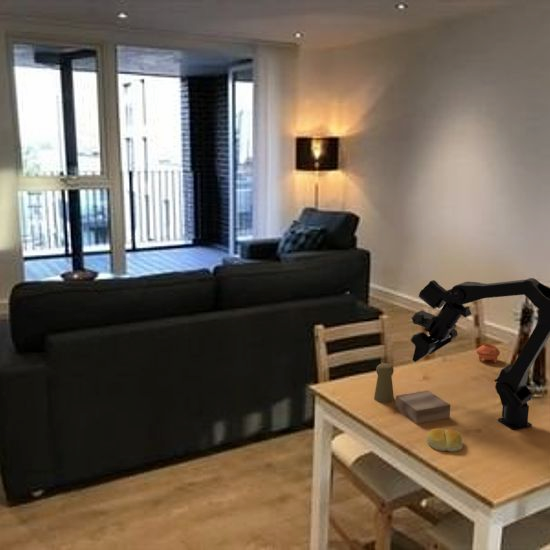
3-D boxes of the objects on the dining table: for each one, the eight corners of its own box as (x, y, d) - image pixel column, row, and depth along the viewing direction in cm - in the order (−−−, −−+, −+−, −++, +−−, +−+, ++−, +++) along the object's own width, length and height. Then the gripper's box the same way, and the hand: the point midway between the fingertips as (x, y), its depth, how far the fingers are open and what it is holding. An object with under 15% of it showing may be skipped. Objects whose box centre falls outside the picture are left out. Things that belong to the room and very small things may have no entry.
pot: (486, 365, 209) (483, 346, 209) (473, 363, 217) (471, 344, 217) (505, 362, 211) (503, 343, 211) (492, 360, 218) (490, 342, 219)
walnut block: (449, 417, 169) (450, 404, 168) (416, 424, 165) (417, 410, 164) (427, 402, 179) (427, 390, 178) (395, 408, 175) (395, 395, 174)
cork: (374, 394, 186) (375, 360, 184) (394, 395, 185) (395, 361, 182) (373, 401, 180) (374, 367, 178) (393, 403, 179) (395, 368, 177)
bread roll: (426, 435, 159) (427, 422, 158) (461, 440, 156) (462, 425, 156) (425, 450, 151) (426, 436, 150) (462, 455, 149) (463, 440, 148)
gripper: (440, 296, 185) (416, 333, 192) (410, 307, 171) (385, 347, 179) (469, 318, 179) (443, 356, 187) (440, 332, 166) (413, 372, 174)
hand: (421, 357), depth 182 cm, fingers open, 9 cm apart
